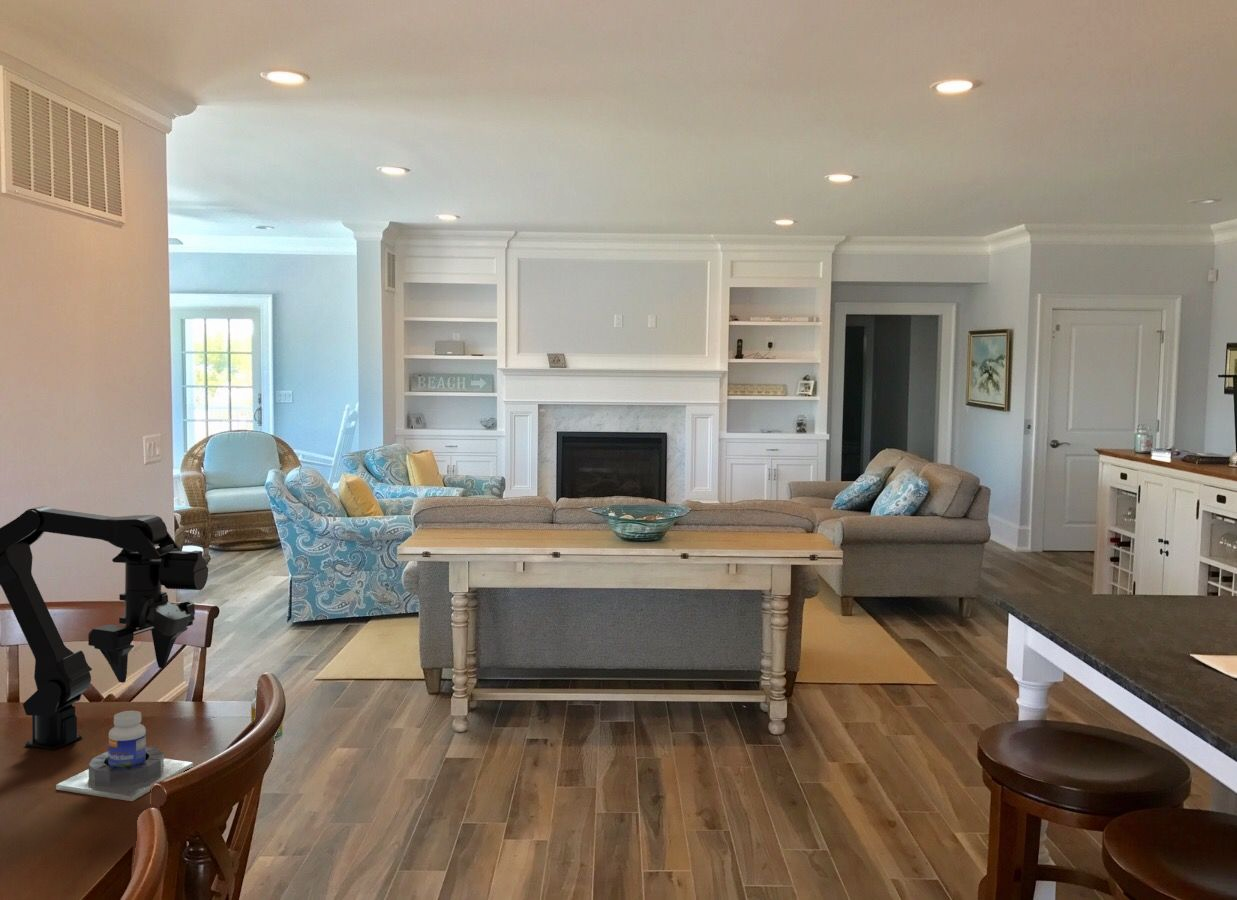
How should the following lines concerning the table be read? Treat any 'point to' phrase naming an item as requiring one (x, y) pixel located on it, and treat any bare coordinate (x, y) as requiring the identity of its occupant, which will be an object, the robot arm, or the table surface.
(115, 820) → the table surface
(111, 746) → the pill bottle
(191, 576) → the robot arm
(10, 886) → the table surface
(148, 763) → the collar
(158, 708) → the table surface
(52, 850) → the table surface
